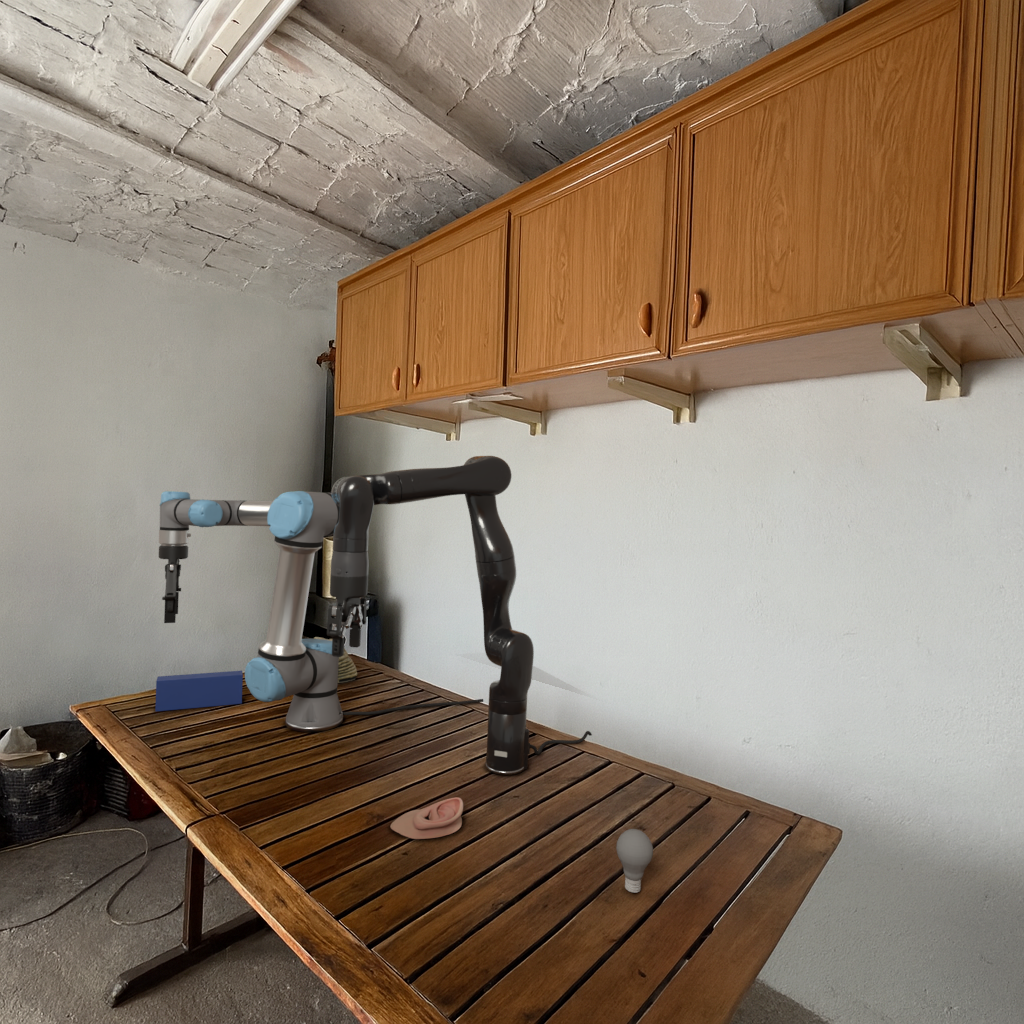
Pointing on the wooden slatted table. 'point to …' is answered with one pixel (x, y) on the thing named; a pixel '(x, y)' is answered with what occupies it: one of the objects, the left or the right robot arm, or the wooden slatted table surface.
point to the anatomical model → (431, 820)
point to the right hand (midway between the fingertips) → (346, 651)
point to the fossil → (345, 667)
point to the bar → (198, 690)
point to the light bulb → (634, 857)
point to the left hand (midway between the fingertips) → (171, 618)
